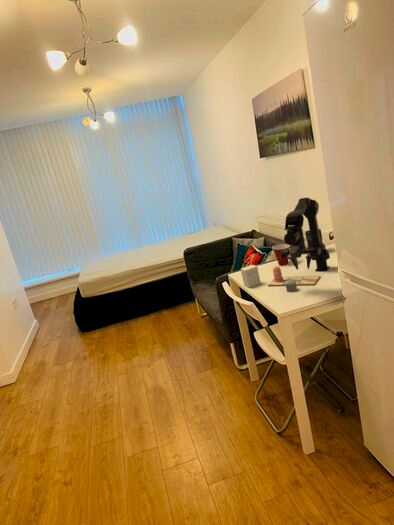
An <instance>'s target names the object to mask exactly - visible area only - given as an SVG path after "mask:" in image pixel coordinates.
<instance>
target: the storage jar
mask: <svg viewBox="0 0 394 525" xmlns="http://www.w3.org/2000/svg"><path fill="white" fill-rule="evenodd" d="M304 233H305V241H306V244H307V250H310V249H311V246H312V239H311V234H310V229H309V230H306V231H305V232H304ZM319 233H320V238H321V242H322V243H323V234H322V230H321V229H320V228H319Z"/></svg>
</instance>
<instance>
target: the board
mask: <svg viewBox="0 0 394 525" xmlns="http://www.w3.org/2000/svg"><path fill="white" fill-rule="evenodd" d="M282 278H283V281H282V282H274V278H273V279H272V280H271V281H270V282H269V283H268V284H267V287H286V284H287V283H288V282H296V286H297V287H298V286H299V287H300V286H303V287H304V286H315V285H317V283H318V281H319V280H320V278H321V275H302V276H301V275H299V276H282Z"/></svg>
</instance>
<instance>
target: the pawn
mask: <svg viewBox="0 0 394 525" xmlns="http://www.w3.org/2000/svg"><path fill="white" fill-rule="evenodd" d="M281 270H282V269H281V268H280V267H279V266H274V267H273V269H272V272H273V279H274V282H282V281H283V278H282V277H283V275H282V271H281Z"/></svg>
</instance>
